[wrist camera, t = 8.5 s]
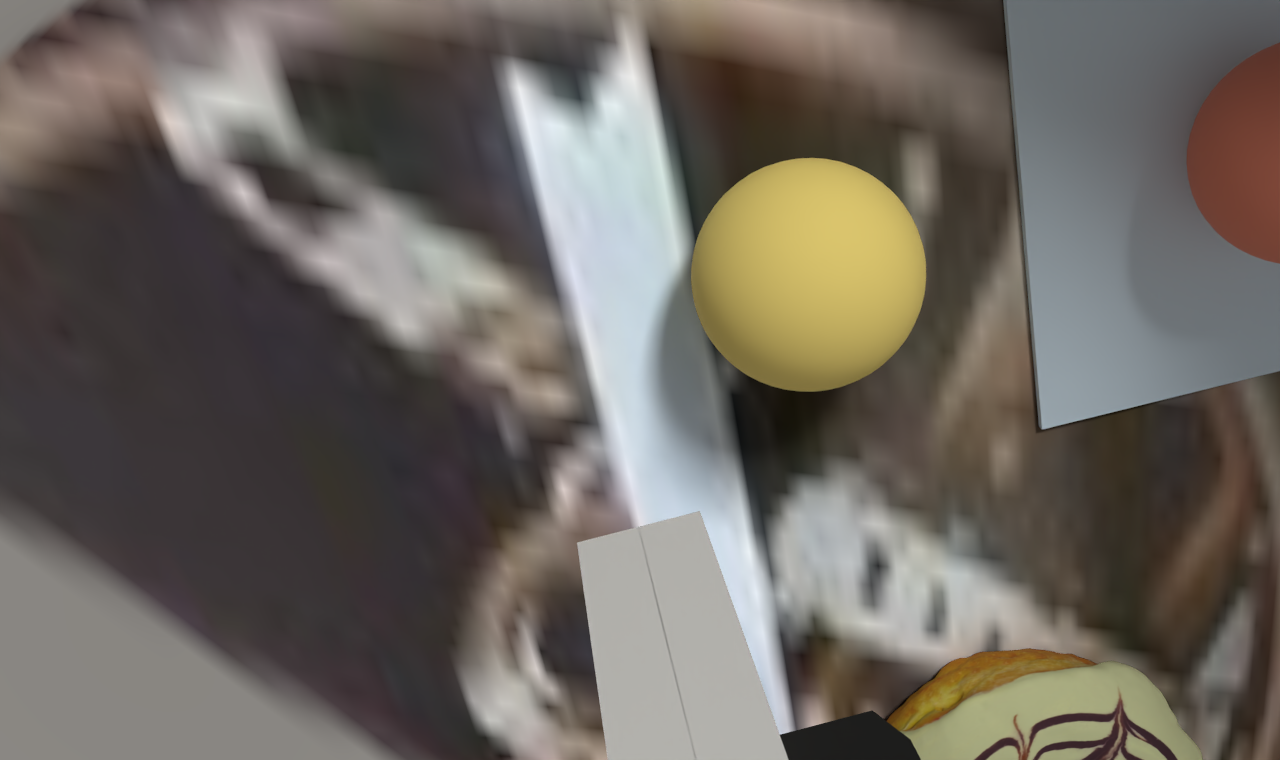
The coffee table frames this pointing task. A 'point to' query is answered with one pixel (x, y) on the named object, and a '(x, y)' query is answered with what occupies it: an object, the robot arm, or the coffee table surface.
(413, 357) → the coffee table surface
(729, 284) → the yellow ball
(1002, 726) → the decorated donut
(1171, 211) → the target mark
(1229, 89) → the object ball
